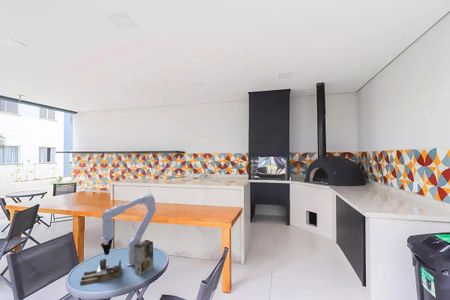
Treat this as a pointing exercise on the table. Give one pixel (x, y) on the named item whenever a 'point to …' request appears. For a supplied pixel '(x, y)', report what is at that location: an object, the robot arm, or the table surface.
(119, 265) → the nut press
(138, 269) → the coffee box
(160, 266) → the table surface
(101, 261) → the press carriage
